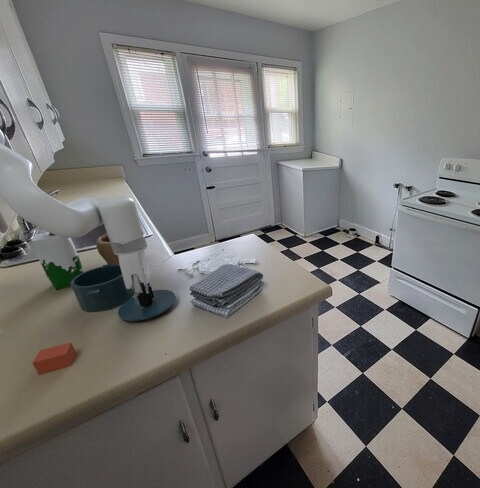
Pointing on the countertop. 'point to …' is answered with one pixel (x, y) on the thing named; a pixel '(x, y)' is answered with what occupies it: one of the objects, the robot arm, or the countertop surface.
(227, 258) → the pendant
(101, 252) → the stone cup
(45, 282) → the countertop surface
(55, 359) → the red block
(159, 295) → the lid
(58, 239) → the milk carton
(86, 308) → the pot
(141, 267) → the robot arm
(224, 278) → the towel
